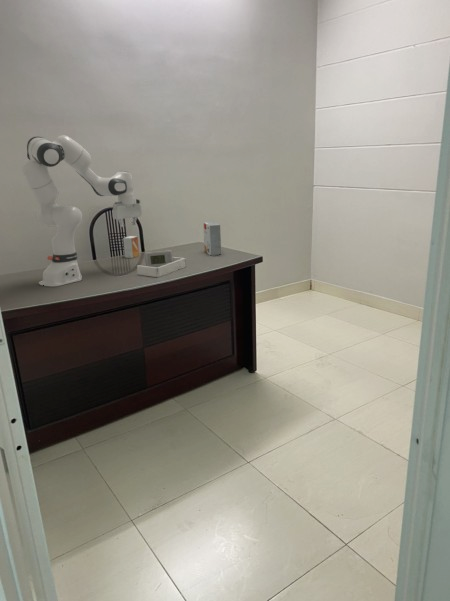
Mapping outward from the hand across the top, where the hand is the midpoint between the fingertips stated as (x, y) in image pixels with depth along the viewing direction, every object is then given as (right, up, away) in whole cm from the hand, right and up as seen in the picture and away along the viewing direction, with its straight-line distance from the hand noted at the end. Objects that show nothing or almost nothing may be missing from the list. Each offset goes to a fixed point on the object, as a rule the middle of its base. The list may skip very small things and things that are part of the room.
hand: (128, 225), depth 242 cm
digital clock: (+18, -25, +1) cm, 31 cm away
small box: (-6, -14, +37) cm, 40 cm away
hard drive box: (+47, -11, +41) cm, 64 cm away
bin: (+20, -25, -1) cm, 32 cm away
